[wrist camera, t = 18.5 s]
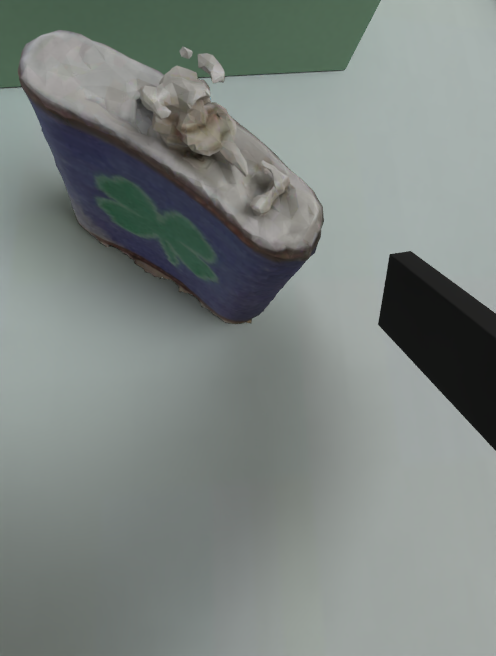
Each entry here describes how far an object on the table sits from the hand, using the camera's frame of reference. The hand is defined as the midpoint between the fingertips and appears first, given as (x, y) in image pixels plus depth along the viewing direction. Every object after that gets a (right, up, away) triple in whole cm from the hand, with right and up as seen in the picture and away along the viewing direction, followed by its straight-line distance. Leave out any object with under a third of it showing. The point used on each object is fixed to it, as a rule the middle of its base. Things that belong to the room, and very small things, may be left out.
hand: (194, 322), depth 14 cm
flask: (-2, +3, +6) cm, 7 cm away
